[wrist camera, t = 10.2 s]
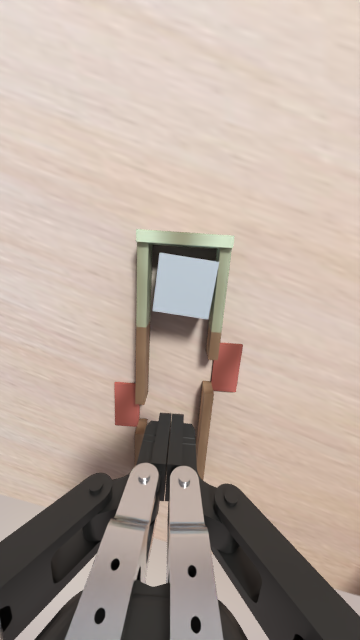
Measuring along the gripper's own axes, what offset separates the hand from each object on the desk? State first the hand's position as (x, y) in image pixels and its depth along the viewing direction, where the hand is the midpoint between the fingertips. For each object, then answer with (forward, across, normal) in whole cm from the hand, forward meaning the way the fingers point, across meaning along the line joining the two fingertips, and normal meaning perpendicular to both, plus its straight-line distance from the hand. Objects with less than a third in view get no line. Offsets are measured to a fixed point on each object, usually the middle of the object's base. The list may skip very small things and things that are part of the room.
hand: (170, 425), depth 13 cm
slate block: (+12, 0, -8) cm, 14 cm away
